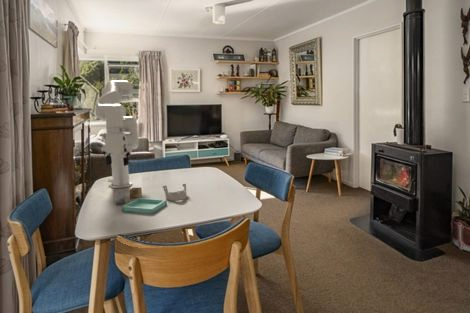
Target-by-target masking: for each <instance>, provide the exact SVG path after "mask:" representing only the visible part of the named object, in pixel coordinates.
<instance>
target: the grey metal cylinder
mask: <svg viewBox="0 0 470 313" xmlns="http://www.w3.org/2000/svg"><path fill="white" fill-rule="evenodd" d="M125 197H126V195H125V192H124V191H119V192H115V193H114V201H115V205H116V206H124V205H126V198H125Z"/></svg>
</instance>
